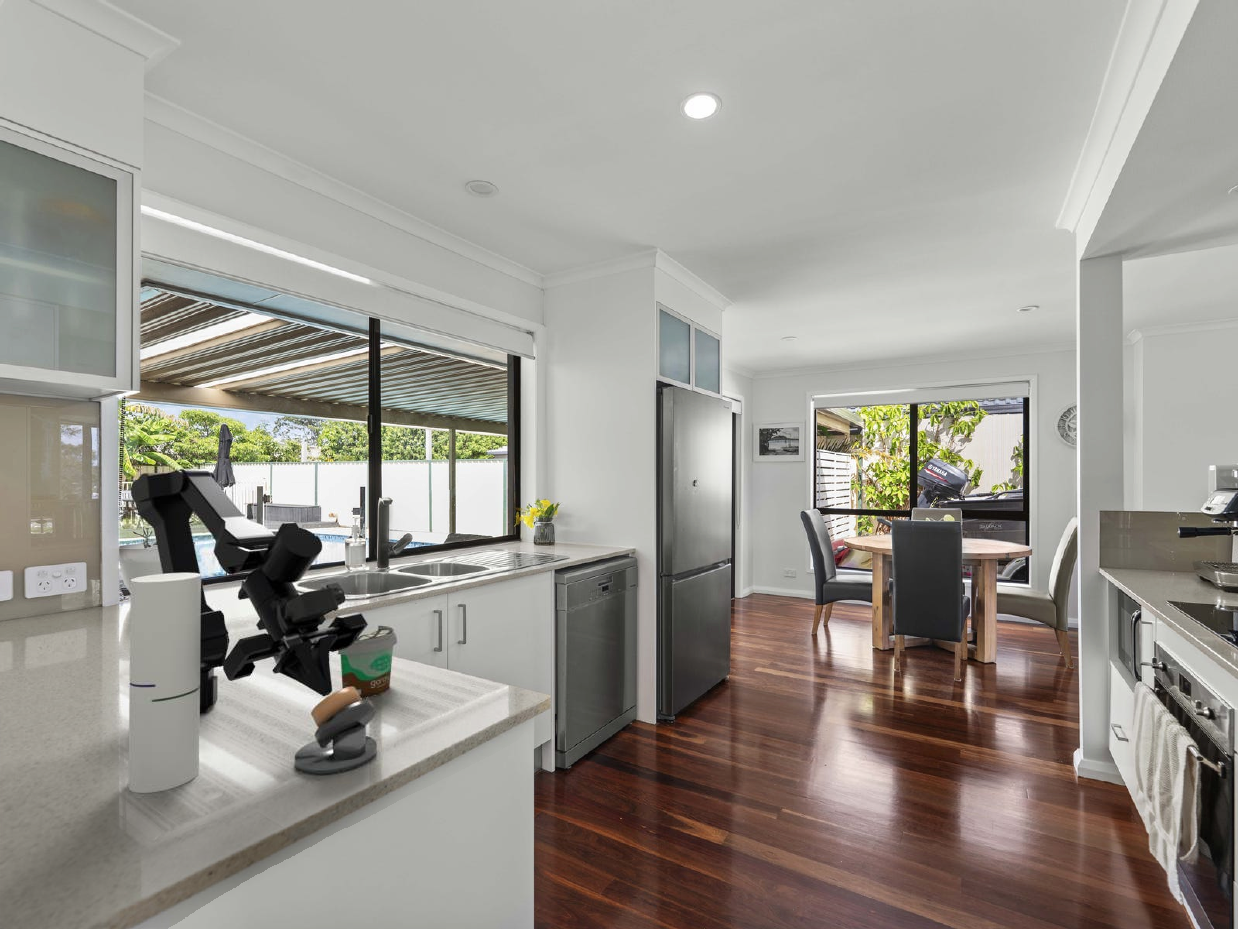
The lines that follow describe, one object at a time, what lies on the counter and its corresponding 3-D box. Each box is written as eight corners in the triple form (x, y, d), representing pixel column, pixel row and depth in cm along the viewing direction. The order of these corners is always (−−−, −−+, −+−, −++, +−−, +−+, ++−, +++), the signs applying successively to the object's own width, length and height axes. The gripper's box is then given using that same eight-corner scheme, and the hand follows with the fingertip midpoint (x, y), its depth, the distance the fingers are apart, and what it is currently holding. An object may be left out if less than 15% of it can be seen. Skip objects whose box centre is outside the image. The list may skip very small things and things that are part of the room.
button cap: (302, 732, 84) (303, 689, 84) (341, 717, 89) (342, 676, 89) (331, 741, 81) (331, 696, 81) (370, 725, 86) (370, 683, 86)
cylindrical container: (152, 766, 82) (155, 573, 83) (210, 764, 83) (212, 572, 83) (113, 794, 75) (116, 582, 75) (177, 792, 76) (179, 581, 76)
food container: (370, 705, 104) (371, 644, 104) (337, 702, 105) (337, 642, 105) (410, 681, 116) (410, 626, 116) (379, 678, 117) (380, 624, 117)
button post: (277, 764, 83) (278, 702, 83) (343, 736, 92) (343, 680, 92) (329, 782, 78) (329, 716, 78) (393, 750, 87) (393, 691, 87)
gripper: (237, 576, 80) (291, 678, 75) (360, 558, 97) (411, 641, 91) (201, 630, 84) (250, 731, 79) (325, 605, 100) (373, 686, 95)
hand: (328, 693), depth 86 cm, fingers closed
